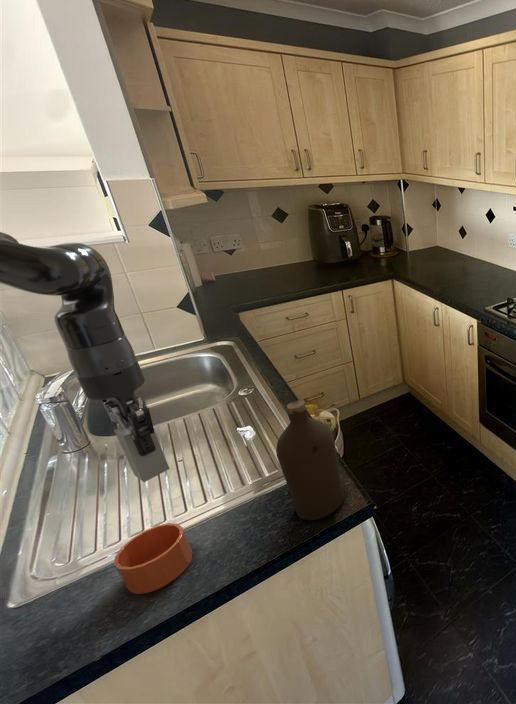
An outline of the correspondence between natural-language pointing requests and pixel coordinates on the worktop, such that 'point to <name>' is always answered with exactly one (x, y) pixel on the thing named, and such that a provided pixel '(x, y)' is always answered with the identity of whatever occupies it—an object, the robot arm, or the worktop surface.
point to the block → (140, 464)
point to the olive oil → (309, 464)
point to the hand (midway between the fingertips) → (142, 448)
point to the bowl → (153, 558)
